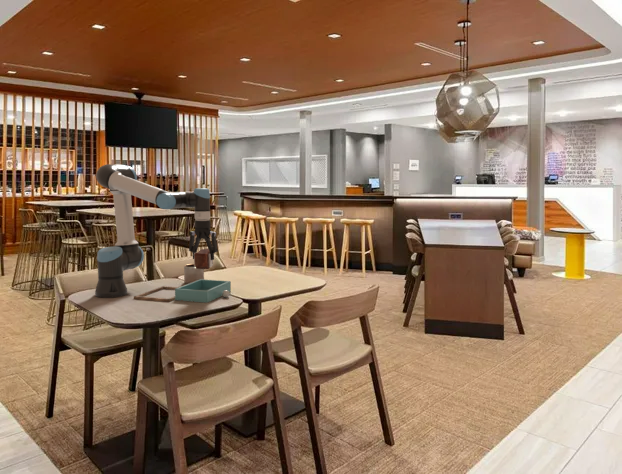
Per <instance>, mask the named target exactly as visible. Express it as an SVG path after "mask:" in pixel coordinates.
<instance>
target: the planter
mask: <svg viewBox="0 0 622 474" xmlns="http://www.w3.org/2000/svg"><path fill="white" fill-rule="evenodd" d="M200 279H205V269H196V266H194V263H189V264H185V265H183V282H184V283H185V284H186V285H187V284H189V283H192V282H195V281H197V280H200Z"/></svg>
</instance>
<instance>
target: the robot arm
mask: <svg viewBox="0 0 622 474" xmlns="http://www.w3.org/2000/svg"><path fill="white" fill-rule="evenodd" d="M95 178H96V181H97V183H98V184H99V186H102V187H103V188H105V189H108V190H109V192H110V193H111V195H113V196H112V197H113V204H114V205H113V206H114V217H115V228H116V237H117V239H116V240H117V241H116V242H115V244H114V246H108V247H107V246H106V247H103V248H100V249H99V250H98V251H97V255H96V260H97V262H96V263H97V278H98V279H97V283H96V288H95V290H94V295H95V297H97V298H105V299H107V298H109V299H110V298H118V297H123V296H126V295H128V288H127V285H126V282H125V279H124V271H128V270H133V269H136V268H137V267H140V266H141V265H142V263H144V259H145V253H144V250H143V249H142V247H140V245H139V242H138V241H137V240H136V238H135V225H134V215H133V205H132V203H133V202H132V196H134V197H135V198H139V199H141V200H143V201H146V202H149V203H152V204H153V205H154V204H155V205H157V206H158V207H159V208H160V209H161V210H170V209H171V210H172V209H181V208H182V209H183V208H184V209H185V208H192V209H193V208H194V209H193V211H194V219H195V220H194V228H195V229H194V230H193V231H189V244H188V252H191V253H192V259H193V261H194V262H195V257H194V254H195V253H197V252H198V248H199V246H200V243H201V240H204V241H205V243H206V246H207V249H209V251H210V254H209V267H210V268H212V267H213V266H214V265H213V264H214V260H215V253H217V252H218V251H219V250H218V243H217V242H218V241H217V232H216V231H212V230H211V194H210V189H209V188H207V187H206V188H202V187H201V188H199V187H197V188H194V189H193V192H192V191H191V192H189V191H176V192H170V191H166V190H164V189H161V188H159V187H156V186H154V185H153V186H152V185H150V184H148V183H145V182H143V181H140V180H138V175H137V172H136V171H135V169H134V168H133V167H131V166H129V165H127V164H110V163H109V164H103V165H102V166H100V167H99V168H97V171H96V173H95ZM210 236H211V237H210ZM194 262H193V264H194ZM194 266H195V264H194Z"/></svg>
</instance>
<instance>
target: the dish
mask: <svg viewBox="0 0 622 474" xmlns="http://www.w3.org/2000/svg"><path fill="white" fill-rule="evenodd" d="M178 287H179V288H176V289H175V290H174V296H175V300H174V301H181V300H183V301H184V302H193V301H194V302H195V303H210V302H212V301H214V300H216V299H218V298H220V297H223V295H222V292H223V291H224V290H228V291H229V293H231V292H232V288H231V281H229V280H219V279H218V280H216V279H205V278H204V279H200V280H197V281H195V282H192V283H189V284H187V283H186V284H185V285H182V286H178Z"/></svg>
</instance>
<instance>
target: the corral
mask: <svg viewBox="0 0 622 474" xmlns="http://www.w3.org/2000/svg"><path fill="white" fill-rule="evenodd" d="M179 287H180V286H178V287H177V286H166V285H162V286H160V287H156V288H154V289H151V290H148V291H145V292H142V293H139V294H137V295H134V296H133V300H140V301H141V300H142V301H155V302H167V303H170V302H173V301H175V300H174V299H175V295H173V296H172V297H169V298H166V297H165V298H164V297H154V296H153V297H152V296H148V295H150V294H154V293H157V292H159V291H162V290H171V289H176V288H179ZM172 300H173V301H172Z"/></svg>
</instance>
